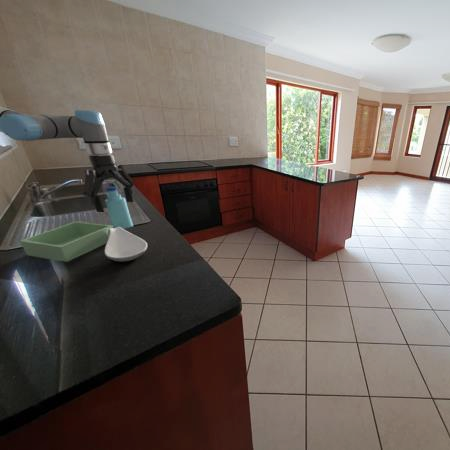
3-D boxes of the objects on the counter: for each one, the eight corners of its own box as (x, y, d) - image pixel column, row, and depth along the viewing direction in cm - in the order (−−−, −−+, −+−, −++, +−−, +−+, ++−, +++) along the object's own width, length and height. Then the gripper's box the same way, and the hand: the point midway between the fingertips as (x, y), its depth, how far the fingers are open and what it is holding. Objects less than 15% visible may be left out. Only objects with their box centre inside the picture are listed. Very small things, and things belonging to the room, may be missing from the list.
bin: (27, 256, 81) (19, 240, 78) (81, 235, 96) (76, 221, 94) (67, 263, 77) (60, 246, 75) (117, 239, 93) (112, 225, 90)
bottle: (110, 229, 101) (96, 188, 94) (124, 223, 107) (112, 184, 100) (123, 231, 100) (110, 189, 93) (136, 225, 106) (125, 185, 99)
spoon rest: (154, 257, 82) (149, 238, 79) (113, 271, 73) (106, 251, 71) (132, 235, 96) (127, 219, 93) (96, 245, 88) (89, 228, 85)
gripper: (73, 159, 79) (93, 217, 88) (136, 151, 102) (147, 198, 110) (56, 158, 81) (77, 215, 89) (121, 150, 103) (134, 197, 112)
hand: (116, 206), depth 100 cm, fingers open, 13 cm apart
